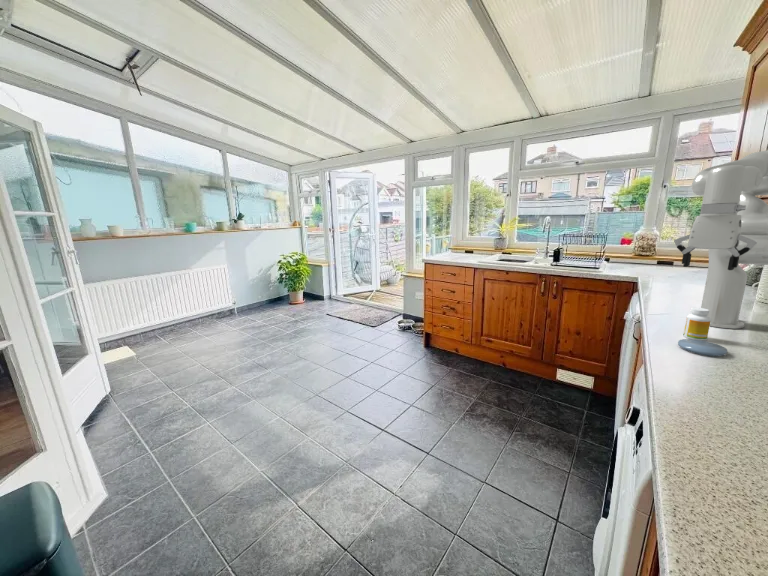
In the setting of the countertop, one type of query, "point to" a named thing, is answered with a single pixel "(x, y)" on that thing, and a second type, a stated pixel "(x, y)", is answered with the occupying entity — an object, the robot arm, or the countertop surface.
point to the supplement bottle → (697, 324)
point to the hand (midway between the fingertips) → (707, 268)
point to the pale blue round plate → (702, 347)
